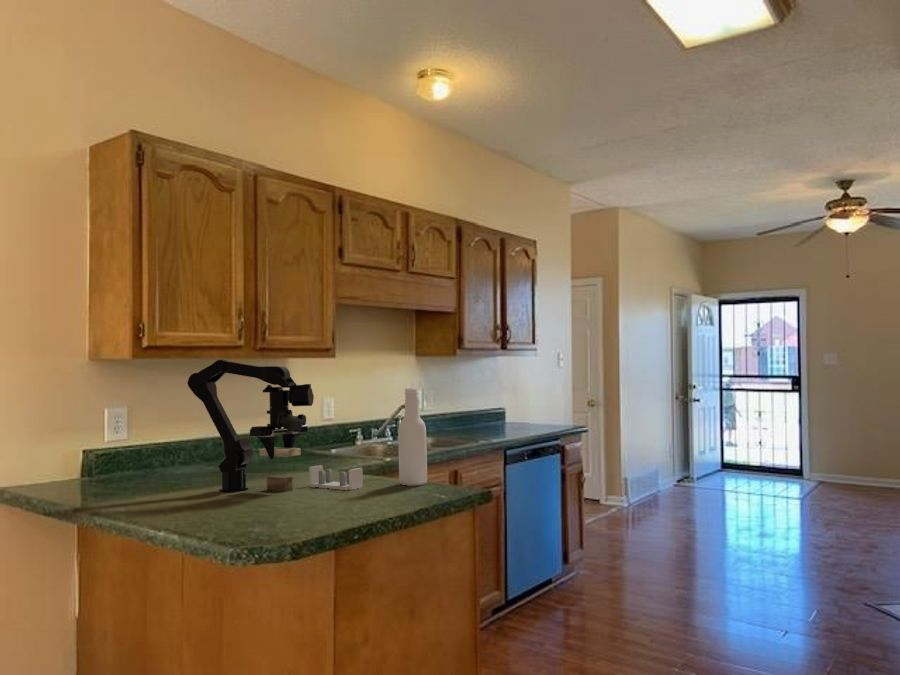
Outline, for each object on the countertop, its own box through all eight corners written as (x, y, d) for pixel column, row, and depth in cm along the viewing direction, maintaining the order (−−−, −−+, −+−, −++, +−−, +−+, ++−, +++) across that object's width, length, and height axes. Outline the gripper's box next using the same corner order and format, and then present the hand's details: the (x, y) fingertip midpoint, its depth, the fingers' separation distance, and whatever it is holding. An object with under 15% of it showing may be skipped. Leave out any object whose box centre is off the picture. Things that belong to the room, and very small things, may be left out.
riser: (285, 491, 209) (284, 478, 209) (267, 489, 213) (267, 476, 213) (292, 490, 211) (292, 476, 211) (274, 488, 216) (274, 475, 216)
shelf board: (286, 456, 207) (285, 450, 207) (259, 455, 214) (259, 449, 214) (300, 454, 212) (300, 448, 212) (274, 453, 219) (274, 447, 219)
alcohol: (395, 483, 219) (393, 388, 221) (420, 481, 223) (418, 388, 225) (406, 487, 211) (403, 388, 213) (432, 484, 215) (429, 388, 217)
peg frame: (349, 490, 207) (349, 470, 208) (307, 486, 217) (306, 467, 218) (365, 487, 213) (364, 467, 214) (322, 483, 223) (322, 464, 224)
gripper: (273, 408, 202) (274, 462, 201) (319, 405, 217) (320, 455, 216) (248, 408, 208) (248, 460, 207) (294, 405, 223) (295, 454, 222)
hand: (279, 457), depth 213 cm, fingers closed on shelf board, 6 cm apart
